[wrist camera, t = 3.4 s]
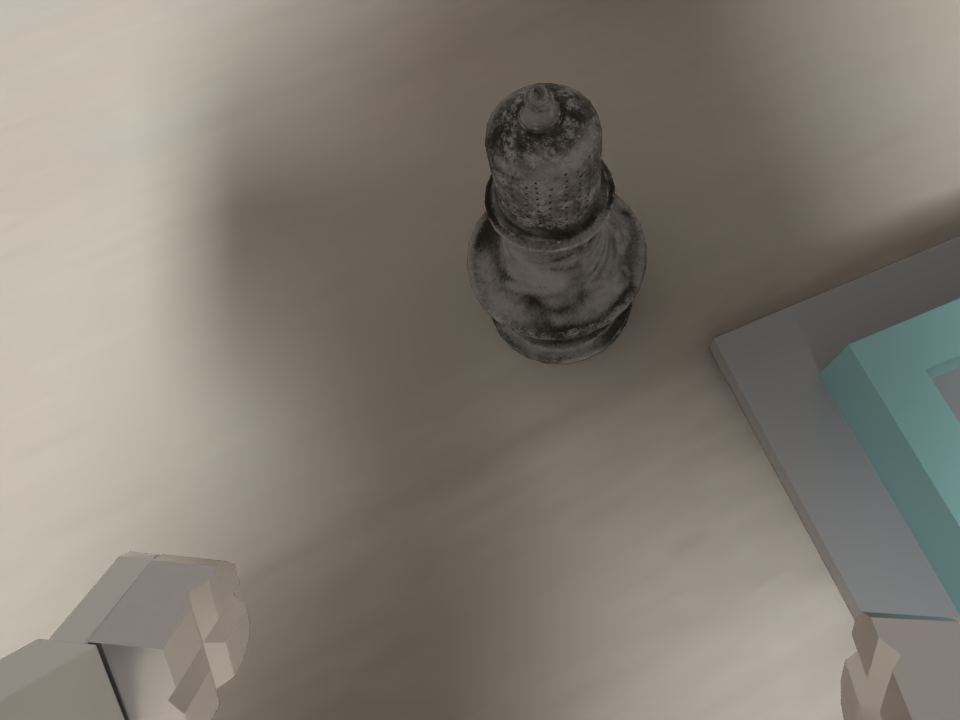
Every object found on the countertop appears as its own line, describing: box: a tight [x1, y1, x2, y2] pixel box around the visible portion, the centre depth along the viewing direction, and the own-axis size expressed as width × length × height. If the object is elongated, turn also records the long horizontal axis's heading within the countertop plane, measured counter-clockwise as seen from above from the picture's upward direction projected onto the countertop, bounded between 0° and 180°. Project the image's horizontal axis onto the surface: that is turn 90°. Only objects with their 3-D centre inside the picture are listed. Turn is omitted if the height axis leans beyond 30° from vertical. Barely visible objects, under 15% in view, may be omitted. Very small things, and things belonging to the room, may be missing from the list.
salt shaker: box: [467, 83, 647, 364], centre depth 22 cm, size 6×6×12 cm
